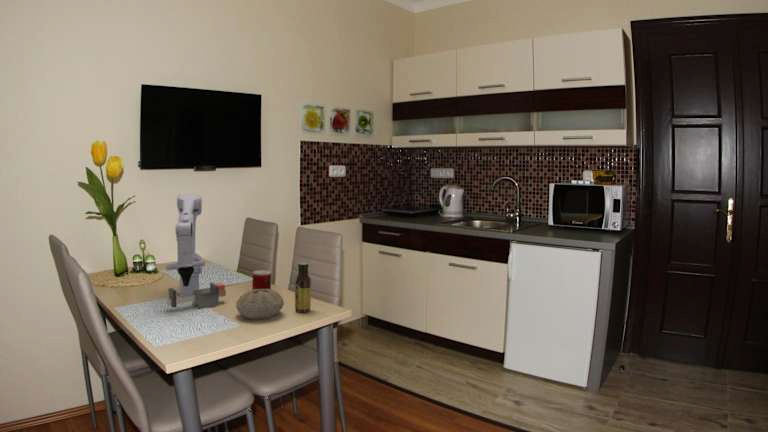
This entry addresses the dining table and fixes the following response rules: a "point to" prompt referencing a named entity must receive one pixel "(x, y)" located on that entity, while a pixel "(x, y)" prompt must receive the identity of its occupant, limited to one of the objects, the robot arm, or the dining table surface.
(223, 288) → the spacer
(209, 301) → the bearing block
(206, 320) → the dining table surface
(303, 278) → the sauce bottle
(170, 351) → the dining table surface
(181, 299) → the shaft
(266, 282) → the canned food
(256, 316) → the decorative shell
